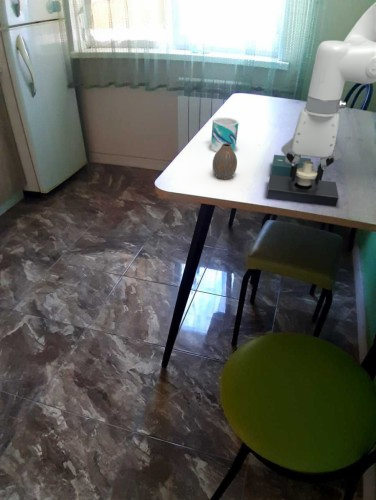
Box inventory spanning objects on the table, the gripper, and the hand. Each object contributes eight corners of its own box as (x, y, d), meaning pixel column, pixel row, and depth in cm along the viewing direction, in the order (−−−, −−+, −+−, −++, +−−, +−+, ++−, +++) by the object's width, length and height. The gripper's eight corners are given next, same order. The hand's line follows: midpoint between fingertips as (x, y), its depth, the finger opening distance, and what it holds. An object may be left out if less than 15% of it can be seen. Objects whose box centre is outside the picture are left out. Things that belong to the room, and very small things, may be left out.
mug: (208, 150, 133) (210, 123, 127) (214, 139, 141) (217, 112, 136) (233, 153, 132) (236, 125, 126) (238, 141, 140) (241, 115, 135)
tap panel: (308, 168, 125) (311, 157, 123) (309, 180, 119) (311, 169, 117) (272, 164, 126) (274, 153, 124) (271, 175, 120) (273, 165, 118)
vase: (214, 181, 115) (217, 149, 109) (209, 172, 120) (211, 140, 114) (238, 181, 116) (242, 149, 110) (232, 171, 121) (235, 140, 115)
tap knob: (299, 159, 122) (304, 141, 118) (300, 165, 119) (304, 146, 115) (284, 158, 122) (288, 139, 119) (284, 163, 119) (288, 144, 116)
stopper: (314, 180, 111) (319, 159, 107) (315, 188, 107) (320, 167, 103) (293, 177, 112) (297, 157, 108) (293, 186, 108) (297, 165, 104)
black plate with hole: (333, 190, 114) (335, 181, 112) (335, 206, 107) (338, 197, 105) (268, 183, 116) (270, 174, 114) (266, 198, 109) (268, 189, 107)
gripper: (357, 104, 98) (336, 179, 111) (285, 98, 100) (272, 172, 113) (361, 113, 93) (338, 190, 105) (285, 106, 95) (271, 183, 107)
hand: (304, 180), depth 109 cm, fingers closed on stopper, 5 cm apart
